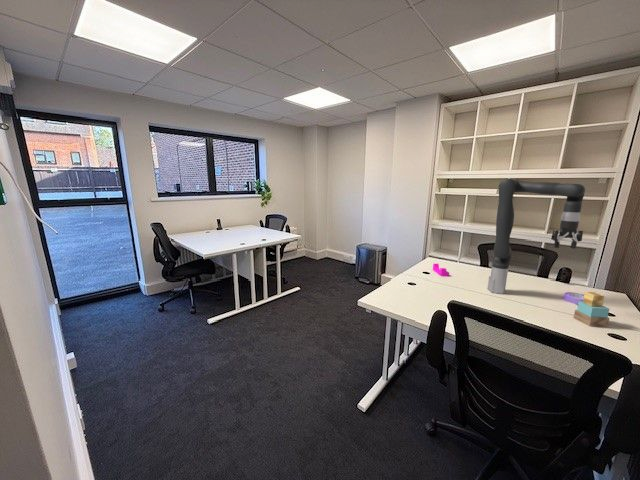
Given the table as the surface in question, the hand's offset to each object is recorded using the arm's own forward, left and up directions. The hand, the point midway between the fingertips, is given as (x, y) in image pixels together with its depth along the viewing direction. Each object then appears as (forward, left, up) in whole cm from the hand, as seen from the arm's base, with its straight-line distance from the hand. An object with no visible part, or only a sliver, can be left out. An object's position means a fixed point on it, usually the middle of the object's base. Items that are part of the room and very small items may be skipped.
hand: (564, 248), depth 151 cm
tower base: (+5, -18, -36) cm, 41 cm away
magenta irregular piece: (-48, +53, -36) cm, 80 cm away
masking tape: (+20, +10, -37) cm, 43 cm away
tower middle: (+5, -18, -31) cm, 37 cm away
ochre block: (+5, -18, -26) cm, 32 cm away
